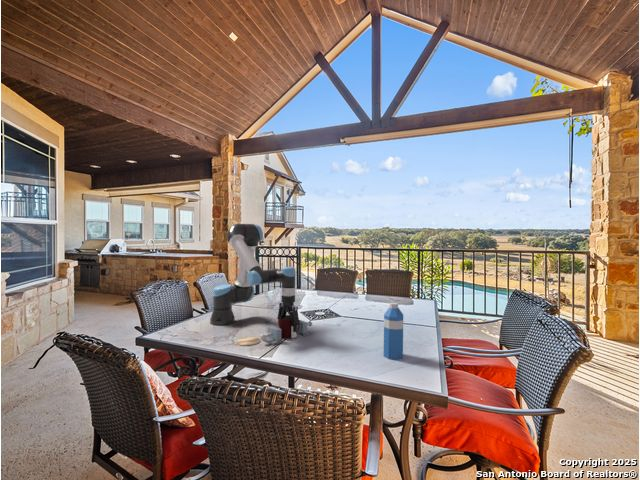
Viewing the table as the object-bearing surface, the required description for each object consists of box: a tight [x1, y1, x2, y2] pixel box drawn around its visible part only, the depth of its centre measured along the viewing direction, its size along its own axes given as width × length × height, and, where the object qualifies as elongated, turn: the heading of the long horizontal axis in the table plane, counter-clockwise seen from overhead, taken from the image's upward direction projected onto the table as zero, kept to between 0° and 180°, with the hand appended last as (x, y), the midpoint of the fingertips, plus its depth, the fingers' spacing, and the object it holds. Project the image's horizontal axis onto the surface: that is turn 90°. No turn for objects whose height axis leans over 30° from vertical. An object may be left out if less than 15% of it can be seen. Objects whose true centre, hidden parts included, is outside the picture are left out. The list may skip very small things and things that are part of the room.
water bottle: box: [383, 302, 404, 361], centre depth 141 cm, size 9×9×25 cm
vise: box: [259, 319, 313, 346], centre depth 166 cm, size 10×34×7 cm, turn 134°
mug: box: [277, 314, 300, 340], centre depth 166 cm, size 12×9×11 cm
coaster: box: [236, 336, 261, 347], centre depth 158 cm, size 12×12×1 cm
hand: (287, 335), depth 166 cm, fingers closed on mug, 9 cm apart
